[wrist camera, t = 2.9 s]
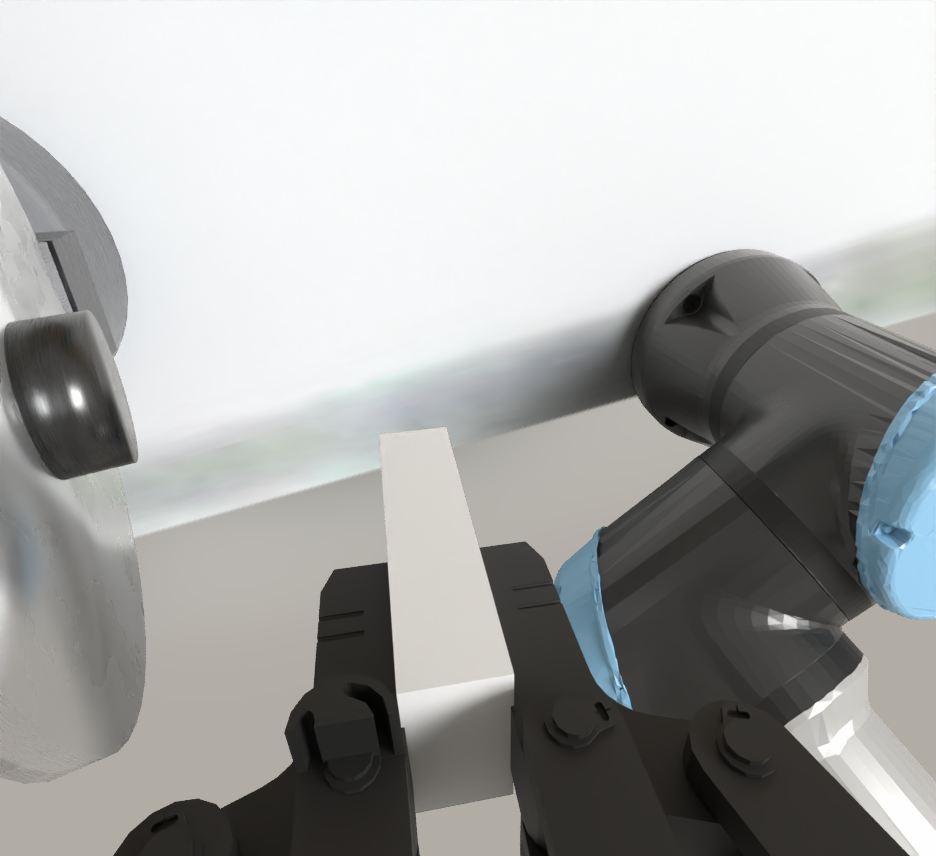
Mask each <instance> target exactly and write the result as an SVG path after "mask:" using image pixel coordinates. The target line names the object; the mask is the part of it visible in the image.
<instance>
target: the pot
mask: <svg viewBox="0 0 936 856" xmlns="http://www.w3.org/2000/svg"><path fill="white" fill-rule="evenodd" d="M0 165H1V166H2V168H3V170H4V172H5V174H6V176H7V178H8V180H9V182H10V184H11V186H12V188H13V190H14V192H15V194H16V196H17V198H18V200H19V202H20V204H21V206H22V208H23V210H24V212H25V214H26V216H27V218H28V220H29V223H30V225H31V227H32V229H33V231H34V234H35V236H36V238H37V240H38V242H47V245H48V247H49V250H50V253H51V255H52V258H53V260H54V263H55V266H56V268H57V271H58V274H59V276H60V279H61V281H62V284H63V287H64V289H65V292H66V295H67V297H68V300H69V302H70V305H71V308H72V310H73V312H79V311H85V310H89V311H90V312H91V313H92V314H93V315H94V317H95V318H96V320H97V322H98V324H99V326H100V328H101V330H102V332H103V334H104V336H105V339H106V341H107V343H108V346H109V348H110V351H111V353H112V356H113V358H114V356H115V354H116V353H117V351H118V348H119V346H120V343H121V340H122V338H123V335H124V330H125V325H126V320H127V304H128V296H127V287H126V278H125V274H124V270H123V266H122V262H121V258H120V255H119V253H118V250H117V248H116V245H115V243H114V240H113V237H112V235H111V233H110V231H109V229H108V227H107V226H106V224H105V222H104V220H103V218H102V216H101V214H100V213H99V211H98V210H97V208H96V207H95V205H94V204H93V203H92V201H91V200H90V198H89V197H88V195H87V194H86V192H85V191H84V190H83V189H82V187H81V186H80V185H79V184H78V183H77V182H76V180H75V179H74V178H73V177H72V176H71V174H70V173H69V172H68V171H67V170H66V169H65V168H64V167H63V166H62V165H61V164H60V163H59V162H58V161H57V160H56V159H55V158H54V157H53V156H52V155H51V154H50V153H49V152H47V151H46V150H45V149H44V148H43V147H42V146H40V145H39V144H38V143H37V142H35V141H34V140H33V139H32V138H30V137H29V136H28V135H27V134H25V133H24V132H23V131H21V130H20V129H18V128H17V127H15V126H14V125H12V124H11V123H9V122H8V121H6V120H4V119H3V118H1V117H0Z"/></svg>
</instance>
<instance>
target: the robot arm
mask: <svg viewBox="0 0 936 856" xmlns="http://www.w3.org/2000/svg"><path fill="white" fill-rule="evenodd" d="M631 373H632V380H633V384H634V388H635V391H636V393H637V395H638V398H639V399H640V401H641V403H642V404H643V405H644V407H645V408H646V409H647V410H648V411H649V413H651V415H652V416H653V417H654V418H655V419H656V420H657V421H658V422H659V423H660V424H661V425H662V426H664V427H665V428H666V429H668V430H670V431H671V432H673V433H674V434H676V435H678V436H681V437H684V438H686V439H689V440H691V441H694V442H697V443H700V444H703V445H705V446H708V447H710V448H709V449H707V450H706V451H705V452H703V453H702V454H701V455H700V456H698V457H696V458H695V459H694V460H692V461H691V462H690V463H689V464H687V465H686V466H685V467H684V468H682V469H681V470H680V471H679V472H677V473H676V474H675V475H674V476H672V477H671V478H670V479H669V480H667V481H666V482H665V483H664V484H662V485H661V486H660V487H658V488H657V489H656V490H655V491H653V492H652V493H651V494H649V495H648V496H647V497H645V498H644V499H643V500H641V501H640V502H639V503H638V504H636V505H635V506H634V507H632V508H631V509H630V510H629V511H627V512H626V513H625V514H623V515H622V516H621V517H619V518H618V519H617V520H616V521H614V522H613V523H612V524H610V525H609V526H608V527H601V528H600V529H598V530H597V531H596V532H595V534H594V535H593V538H592V539H591V540H590V541H589V542H588V543H587V544H586V545H584V546H583V547H582V548H581V549H580V550H579V551H578V552H577V553H575V554H574V555H573V556H572V557H571V558H570V559H568V560H567V561H566V562H565V563H564V564H563V565H562V567H561V568H560V570H559V571H558V573H557V576H556V579H555V582H554V585H553V580H552V577H551V575H550V573H549V570H548V568H547V565H546V563H545V561H544V559H543V558H542V557H541V556H540V555H539V554H538V553H537V552H536V551H535V550H534V549H533V548H532V547H531V546H529V544H527V543H526V542H519V543H512V544H504V545H497V546H490V547H482V548H479V545H478V541H477V537H476V534H475V530H474V527H473V523H472V519H471V516H470V512H469V508H468V505H467V502H466V498H465V494H464V491H463V487H462V483H461V479H460V476H459V472H458V469H457V465H456V461H455V458H454V454H453V450H452V447H451V443H450V439H449V436H448V432H447V428H446V427H442V428H433V429H424V430H415V431H406V432H397V433H388V434H379V439H380V454H381V469H382V484H383V498H384V513H385V529H386V544H387V559H388V562H387V563H379V564H372V565H365V566H358V567H351V568H343V569H336V570H334V571H333V573H332V574H331V576H330V578H329V579H328V581H327V583H326V584H325V586H324V588H323V590H322V591H321V597H320V609H319V623H318V636H317V638H318V643H317V649H316V662H315V677H314V688H313V689H311V690H310V691H309V692H307V693H306V694H305V695H304V696H303V697H302V698H301V700H300V701H299V702H298V704H297V705H296V706H295V708H294V709H293V710H292V711H291V714H290V717H289V720H288V723H287V726H286V730H285V736H286V739H287V742H288V746H289V749H290V752H291V755H292V759H293V762H292V764H291V765H290V766H289V767H288V768H287V769H286V770H285V771H284V772H283V773H282V774H280V775H279V776H278V777H277V778H276V779H274V780H272V781H271V782H269V783H268V784H266V785H265V786H263V787H262V788H260V789H258V790H256V791H254V792H252V793H250V794H248V795H246V796H244V797H242V798H241V799H239V800H236V801H234V802H233V803H231V804H229V805H227V806H225V807H223V808H221V809H220V808H219V807H218V806H217V805H216V804H213V803H210V802H207V801H204V800H200V799H192V800H185V801H179V802H174V803H172V804H170V805H168V806H166V807H164V808H162V809H160V810H158V811H156V812H154V813H152V814H151V815H149V816H148V817H147V818H146V819H145V820H144V821H143V822H141V823H140V824H139V825H138V826H137V827H136V828H135V829H133V830H132V831H131V832H130V833H129V834H128V836H127V837H126V838H125V840H124V841H123V843H122V844H121V846H120V847H119V848H118V850H117V851H116V853H115V854H114V855H113V856H420V854H419V847H418V839H417V827H416V815H415V813H418V812H424V811H429V810H434V809H439V808H444V807H449V806H455V805H460V804H465V803H470V802H475V801H480V800H485V799H490V798H496V797H500V796H505V795H511V794H513V782H514V786H515V790H516V795H517V799H518V803H519V808H520V812H521V831H520V855H521V856H936V782H935V781H934V780H933V779H932V778H931V777H930V775H929V774H928V773H927V772H926V771H925V770H924V769H923V767H922V766H921V765H920V764H919V763H918V762H917V760H916V759H915V758H914V757H913V756H912V755H911V754H910V752H909V751H908V750H907V749H906V748H905V747H904V745H903V744H902V743H901V742H900V741H899V740H898V739H897V738H896V736H895V735H894V734H893V733H892V732H891V731H890V729H889V728H888V727H887V726H886V725H885V724H884V722H883V721H882V720H881V719H880V718H879V717H878V716H877V715H876V713H875V712H874V711H873V710H872V709H871V707H870V704H869V700H868V659H867V658H866V657H865V655H864V654H863V653H862V652H861V651H860V650H859V649H858V648H857V647H856V646H855V644H854V643H853V642H852V641H851V640H850V639H849V638H848V637H847V636H846V635H845V633H844V632H843V631H842V628H841V627H842V625H844V624H845V623H846V622H847V621H850V620H851V619H853V618H855V617H856V616H858V615H859V614H861V613H862V612H864V611H865V610H867V609H868V608H870V607H871V606H873V605H874V604H876V603H877V604H879V605H880V606H881V607H882V608H883V609H886V610H889V611H891V612H894V613H897V614H898V615H901V616H903V617H906V618H910V619H916V620H918V619H921V620H930V619H935V618H936V350H934V349H932V348H929V347H927V346H925V345H922V344H920V343H917V342H915V341H912V340H910V339H908V338H905V337H903V336H900V335H898V334H895V333H893V332H891V331H888V330H886V329H883V328H881V327H879V326H876V325H874V324H871V323H869V322H866V321H864V320H862V319H859V318H856V317H854V316H852V315H849V314H847V313H845V312H843V311H842V310H841V308H840V307H839V306H838V305H837V304H836V303H835V301H834V300H833V299H832V298H831V297H830V296H829V295H828V294H827V293H826V291H825V290H824V289H823V288H822V287H821V286H820V284H819V283H818V281H817V280H816V279H815V277H814V276H813V275H812V274H811V273H810V272H809V271H807V270H806V269H805V268H803V267H802V266H800V265H798V264H797V263H795V262H793V261H791V260H788V259H786V258H783V257H780V256H777V255H775V254H772V253H769V252H765V251H760V250H750V249H744V250H733V251H728V252H724V253H720V254H717V255H714V256H711V257H709V258H707V259H705V260H703V261H701V262H699V263H697V264H695V265H693V266H692V267H690V268H689V269H687V270H686V271H684V272H683V273H681V274H680V275H679V276H678V277H676V278H675V279H674V280H673V281H672V282H671V283H670V284H669V285H668V286H667V287H666V288H665V289H664V290H663V291H662V292H661V293H660V294H659V296H658V297H657V298H656V299H655V301H654V302H653V303H652V305H651V306H650V308H649V309H648V311H647V313H646V314H645V316H644V318H643V320H642V322H641V324H640V327H639V329H638V332H637V334H636V338H635V341H634V345H633V350H632V357H631Z"/></svg>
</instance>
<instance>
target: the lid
mask: <svg viewBox="0 0 936 856" xmlns="http://www.w3.org/2000/svg"><path fill="white" fill-rule="evenodd" d="M137 460H138V448H137V441H136V435H135V430H134V426H133V421H132V417H131V413H130V409H129V406H128V402H127V398H126V395H125V392H124V388H123V385H122V382H121V379H120V376H119V373H118V370H117V367H116V364H115V361H114V359H113V356H112V353H111V351H110V348H109V346H108V343H107V341H106V339H105V336H104V334H103V332H102V330H101V328H100V326H99V324H98V322H97V320H96V318H95V317H94V315H93V314H92V313H91V312H90V311H89V310H85V311H79V312H73V310H72V308H71V305H70V302H69V300H68V297H67V295H66V292H65V289H64V287H63V284H62V281H61V279H60V276H59V274H58V271H57V268H56V266H55V263H54V260H53V258H52V255H51V253H50V250H49V247H48V245H47V242H38V240H37V238H36V236H35V234H34V231H33V229H32V227H31V225H30V223H29V220H28V218H27V216H26V214H25V212H24V210H23V208H22V206H21V204H20V202H19V200H18V198H17V196H16V194H15V192H14V190H13V188H12V186H11V184H10V182H9V180H8V178H7V176H6V174H5V172H4V170H3V168H2V166H1V165H0V777H2V778H6V779H9V780H13V781H17V782H21V783H36V782H49V781H51V780H54V779H56V778H58V777H61V776H63V775H65V774H68V773H70V772H73V771H75V770H77V769H79V768H82V767H84V766H87V765H89V764H91V763H94V762H96V761H99V760H101V759H103V758H106V757H108V756H110V755H112V754H114V753H116V752H118V751H119V750H120V749H121V748H122V747H123V746H124V744H125V743H126V742H127V741H128V740H129V738H130V736H131V734H132V731H133V729H134V728H135V725H136V723H137V719H138V716H139V712H140V708H141V703H142V697H143V691H144V683H145V665H146V643H145V642H146V637H145V622H144V608H143V599H142V590H141V582H140V575H139V568H138V561H137V555H136V551H135V544H134V538H133V533H132V528H131V523H130V518H129V513H128V508H127V504H126V500H125V495H124V491H123V487H122V482H121V478H120V475H119V471H118V467H120V466H124V465H128V464H132V463H136V462H137Z"/></svg>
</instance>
